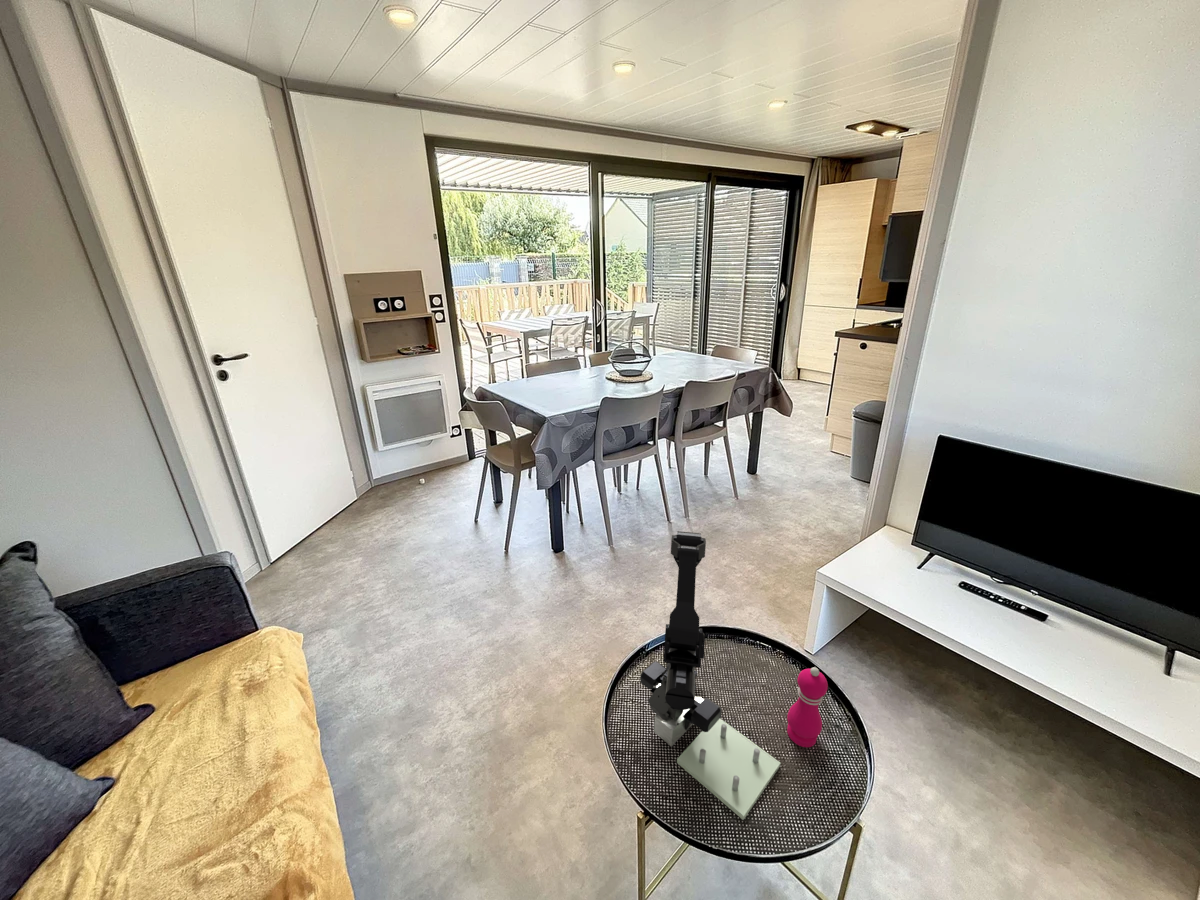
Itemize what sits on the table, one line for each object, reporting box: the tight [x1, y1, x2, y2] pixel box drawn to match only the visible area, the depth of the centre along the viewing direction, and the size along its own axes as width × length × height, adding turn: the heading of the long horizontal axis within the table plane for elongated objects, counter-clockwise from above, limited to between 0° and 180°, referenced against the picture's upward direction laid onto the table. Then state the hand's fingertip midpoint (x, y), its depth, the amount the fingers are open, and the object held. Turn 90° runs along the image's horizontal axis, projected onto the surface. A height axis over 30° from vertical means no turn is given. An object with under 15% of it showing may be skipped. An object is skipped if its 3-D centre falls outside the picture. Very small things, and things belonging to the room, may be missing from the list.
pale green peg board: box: [676, 718, 781, 821], centre depth 102 cm, size 16×15×4 cm
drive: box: [653, 709, 693, 747], centre depth 109 cm, size 10×5×5 cm, turn 134°
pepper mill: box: [786, 666, 829, 748], centre depth 105 cm, size 7×7×20 cm
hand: (677, 721), depth 110 cm, fingers closed on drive, 5 cm apart
